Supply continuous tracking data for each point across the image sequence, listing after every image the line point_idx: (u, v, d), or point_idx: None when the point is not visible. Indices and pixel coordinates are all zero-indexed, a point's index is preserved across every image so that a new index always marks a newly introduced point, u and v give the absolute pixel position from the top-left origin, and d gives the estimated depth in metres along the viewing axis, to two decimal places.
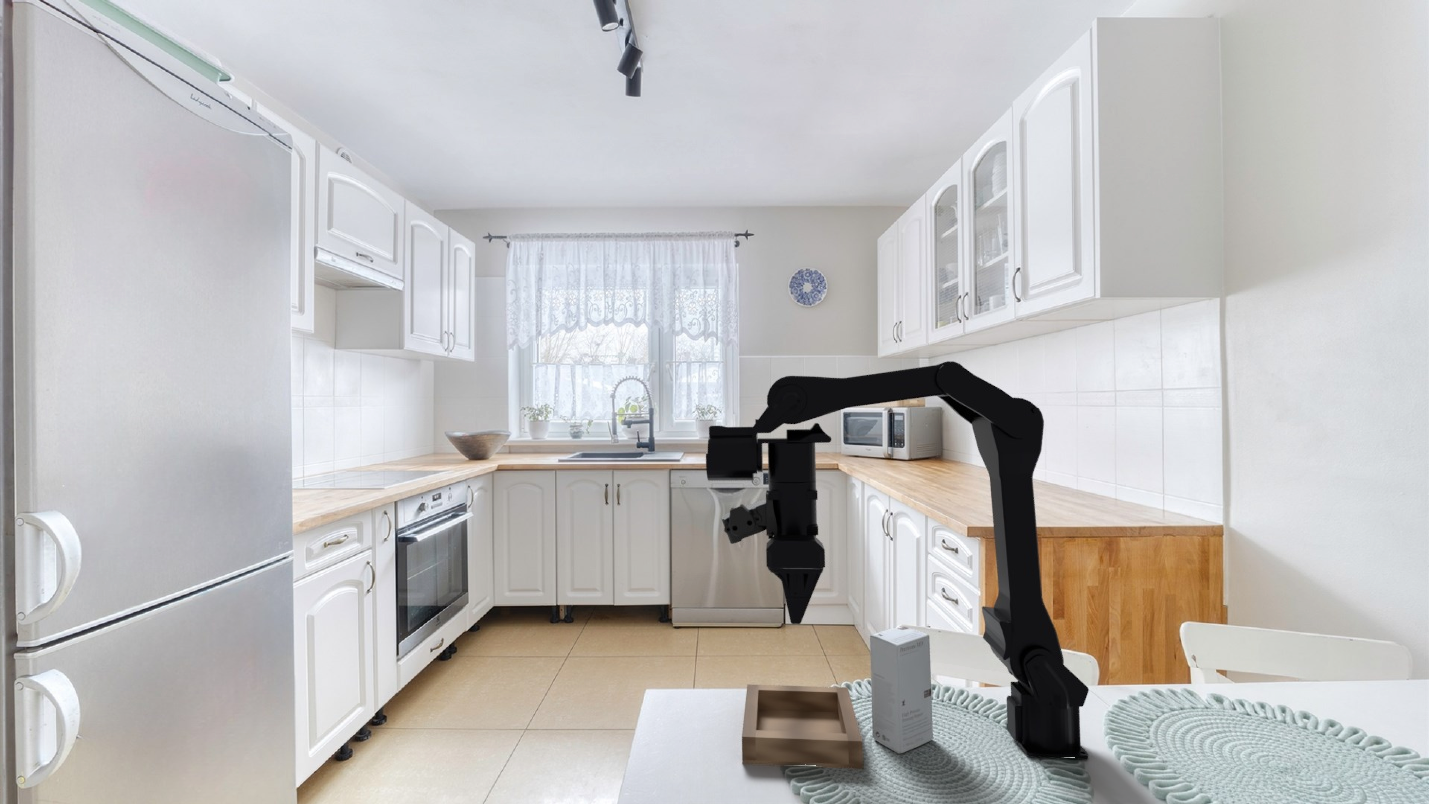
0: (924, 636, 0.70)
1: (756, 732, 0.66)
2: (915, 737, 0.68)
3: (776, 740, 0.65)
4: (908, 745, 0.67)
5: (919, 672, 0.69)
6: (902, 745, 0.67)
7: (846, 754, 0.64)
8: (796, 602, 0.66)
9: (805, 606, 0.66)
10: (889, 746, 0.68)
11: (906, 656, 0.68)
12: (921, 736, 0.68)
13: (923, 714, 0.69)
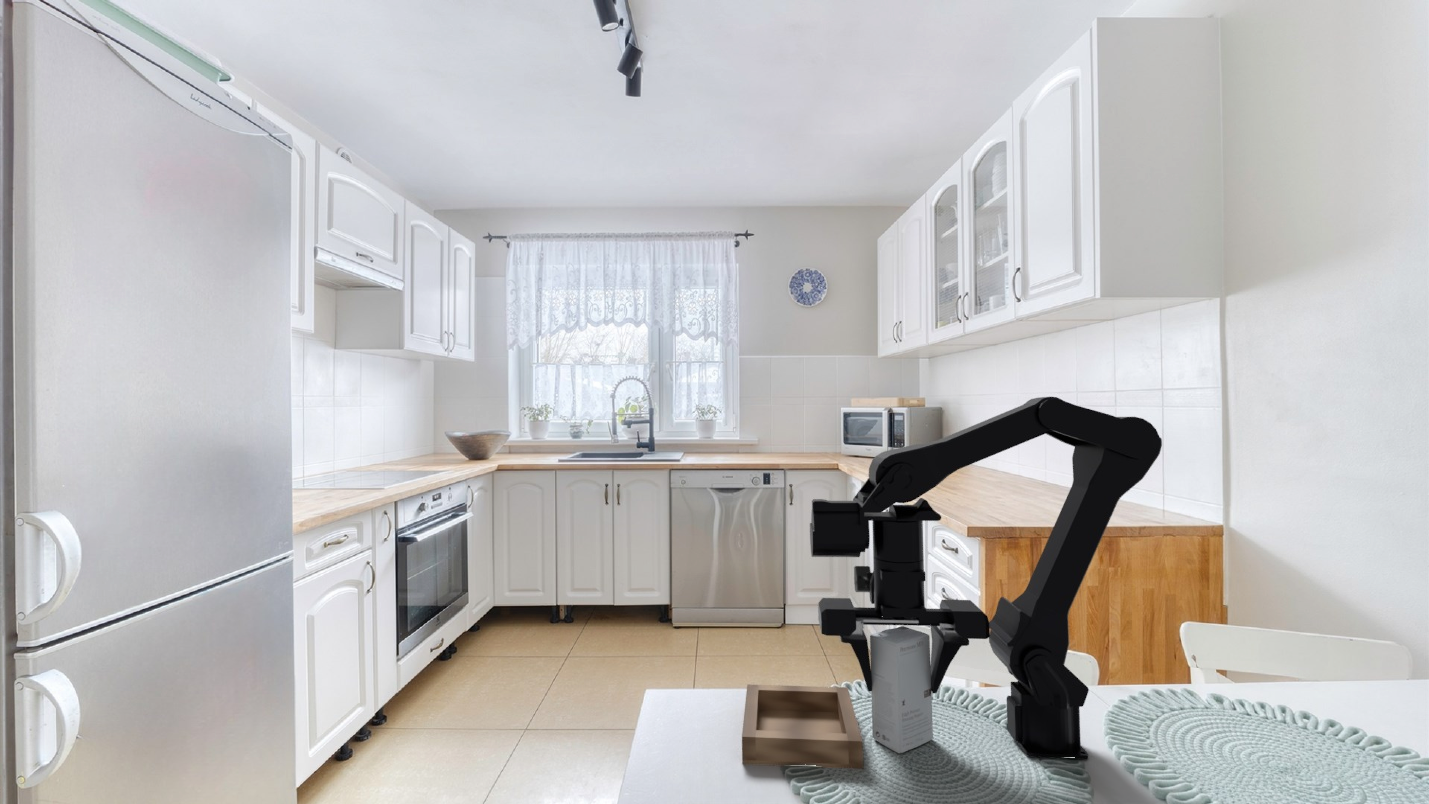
0: (924, 636, 0.70)
1: (756, 732, 0.66)
2: (915, 737, 0.68)
3: (776, 740, 0.65)
4: (908, 744, 0.67)
5: (919, 672, 0.69)
6: (902, 745, 0.67)
7: (846, 754, 0.64)
8: None
9: (863, 674, 0.70)
10: (889, 746, 0.68)
11: (906, 656, 0.68)
12: (921, 736, 0.68)
13: (923, 714, 0.69)
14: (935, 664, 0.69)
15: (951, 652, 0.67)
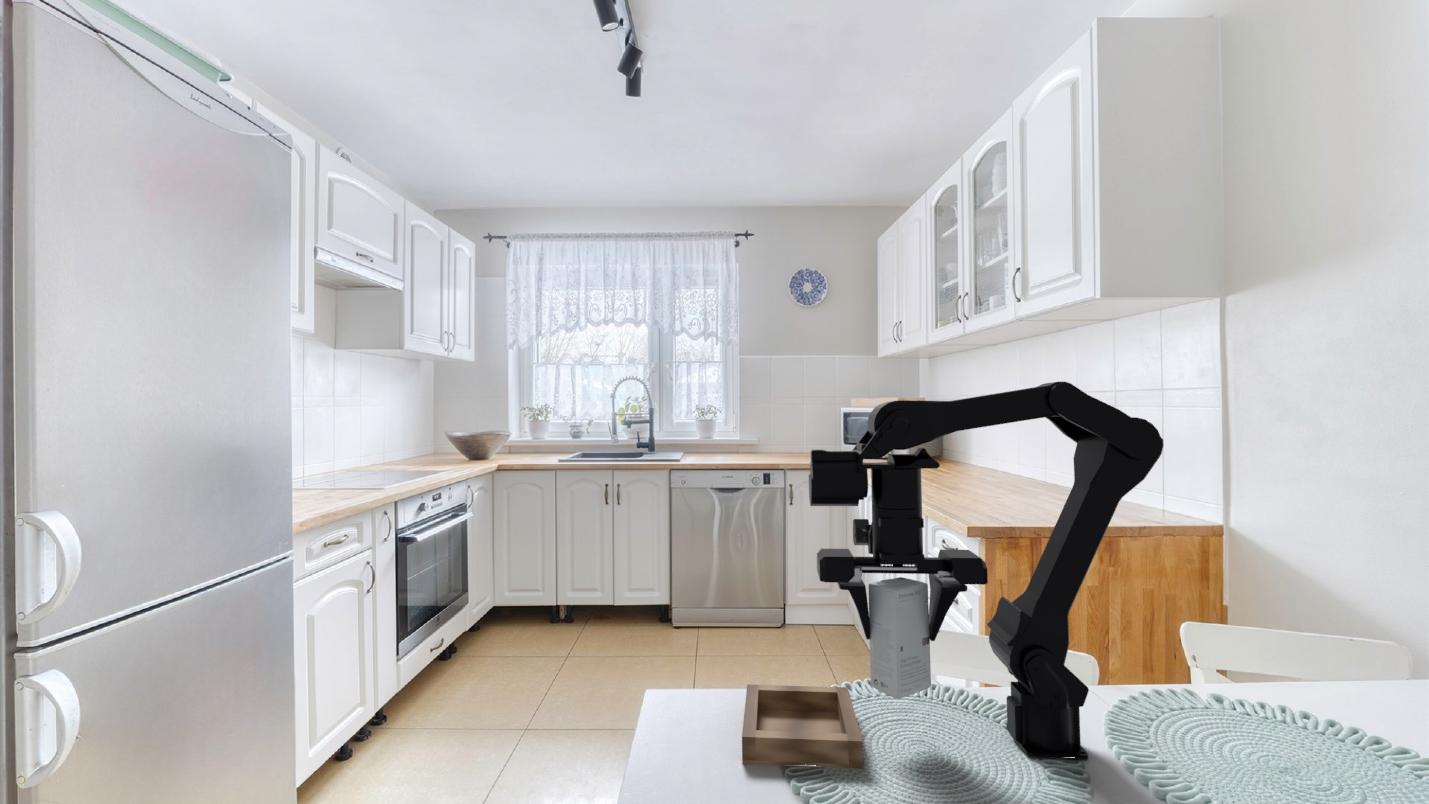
0: (922, 585, 0.70)
1: (756, 732, 0.66)
2: (913, 683, 0.68)
3: (776, 740, 0.65)
4: (906, 691, 0.67)
5: (918, 620, 0.69)
6: (901, 690, 0.67)
7: (846, 754, 0.64)
8: (859, 615, 0.71)
9: (861, 622, 0.70)
10: (887, 692, 0.68)
11: (904, 603, 0.68)
12: (919, 683, 0.69)
13: (921, 661, 0.69)
14: (933, 611, 0.69)
15: (949, 599, 0.67)
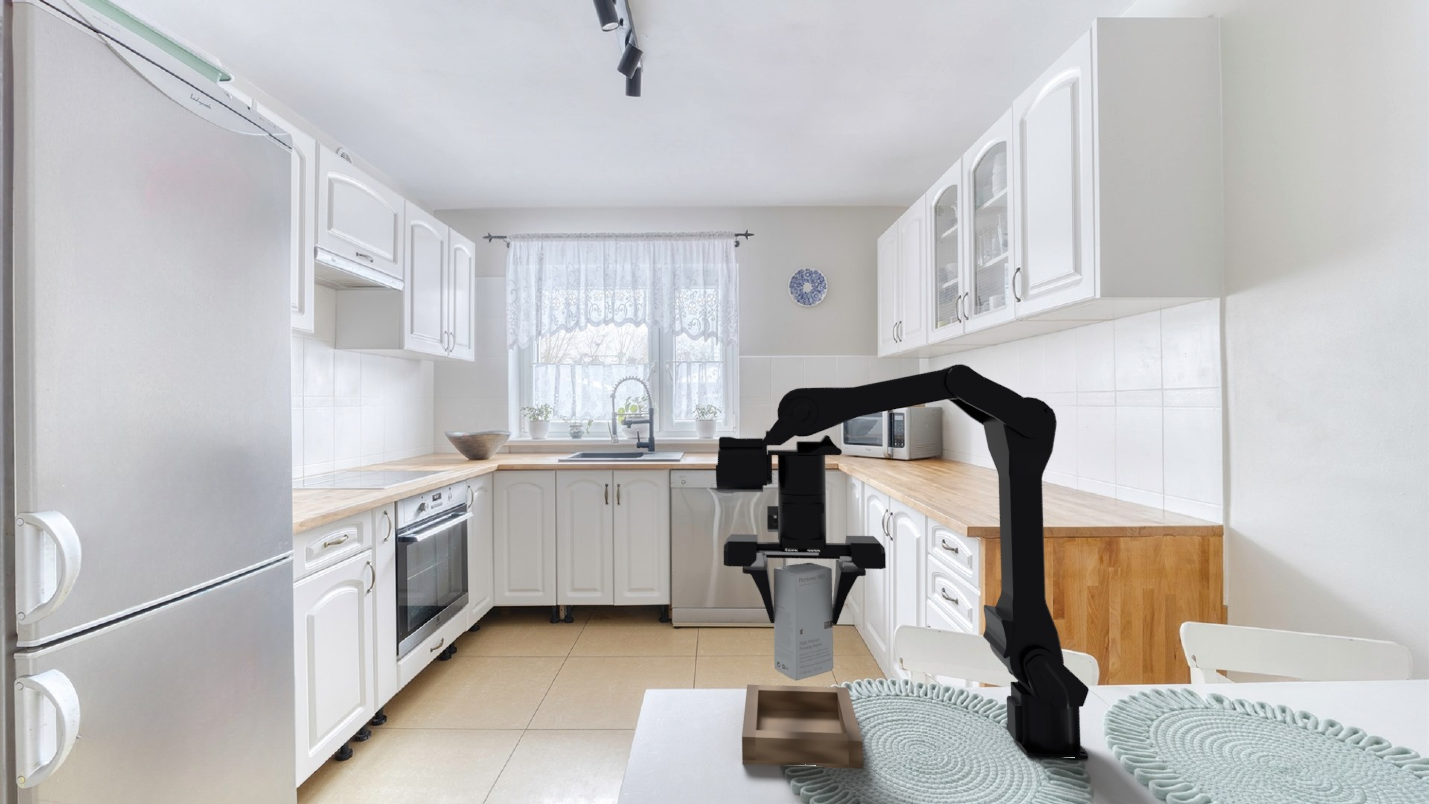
0: (826, 569, 0.71)
1: (756, 732, 0.66)
2: (814, 666, 0.69)
3: (776, 740, 0.65)
4: (806, 673, 0.69)
5: (820, 604, 0.70)
6: (799, 672, 0.68)
7: (846, 754, 0.64)
8: None
9: (765, 606, 0.71)
10: (787, 674, 0.69)
11: (805, 586, 0.69)
12: (820, 666, 0.70)
13: (823, 644, 0.70)
14: (835, 596, 0.70)
15: (848, 583, 0.69)
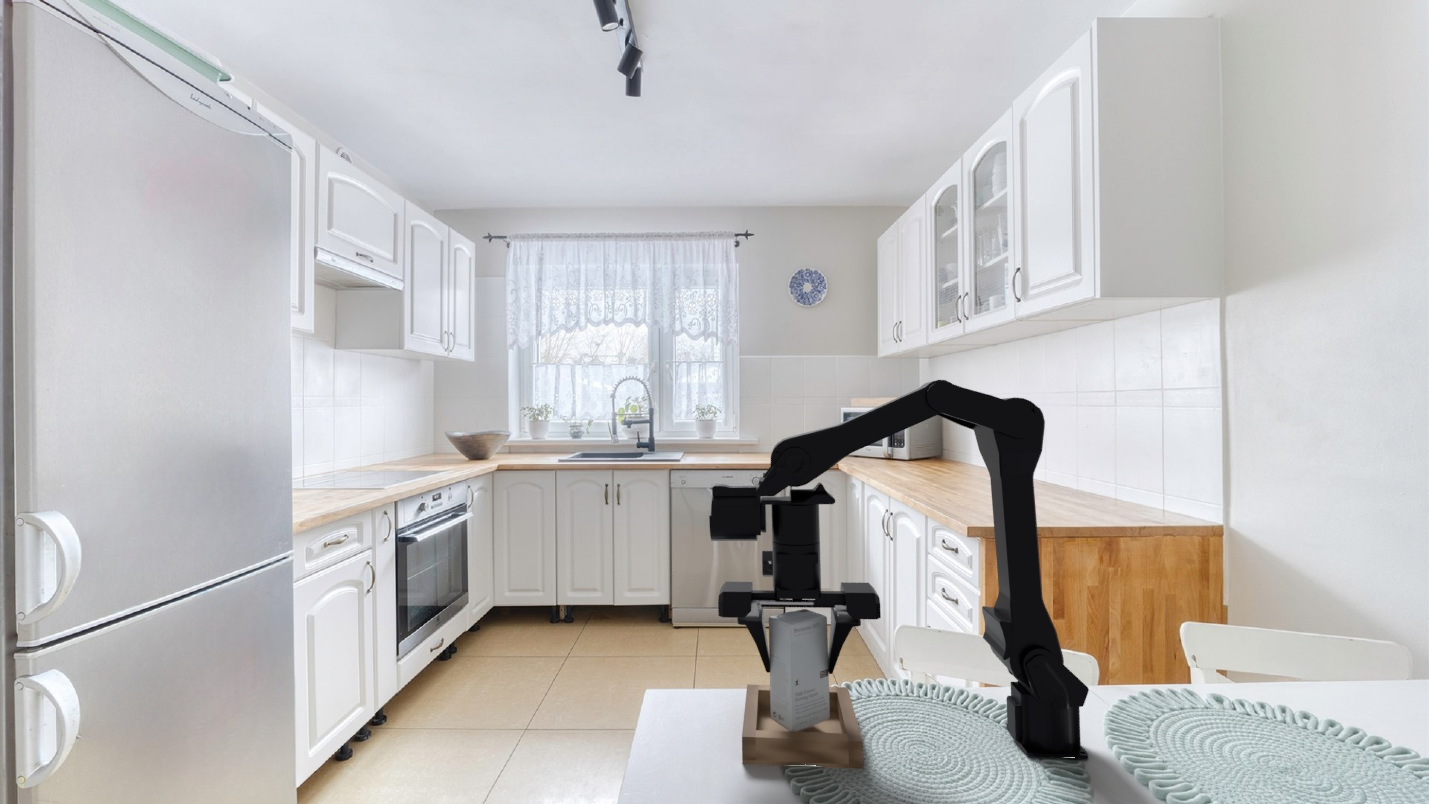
0: (821, 618, 0.71)
1: (756, 732, 0.66)
2: (810, 716, 0.69)
3: (776, 740, 0.65)
4: (802, 724, 0.68)
5: (815, 653, 0.70)
6: (795, 724, 0.68)
7: (846, 754, 0.64)
8: None
9: None
10: (784, 725, 0.69)
11: (801, 637, 0.69)
12: (816, 715, 0.70)
13: (819, 694, 0.70)
14: (830, 645, 0.70)
15: (844, 633, 0.69)
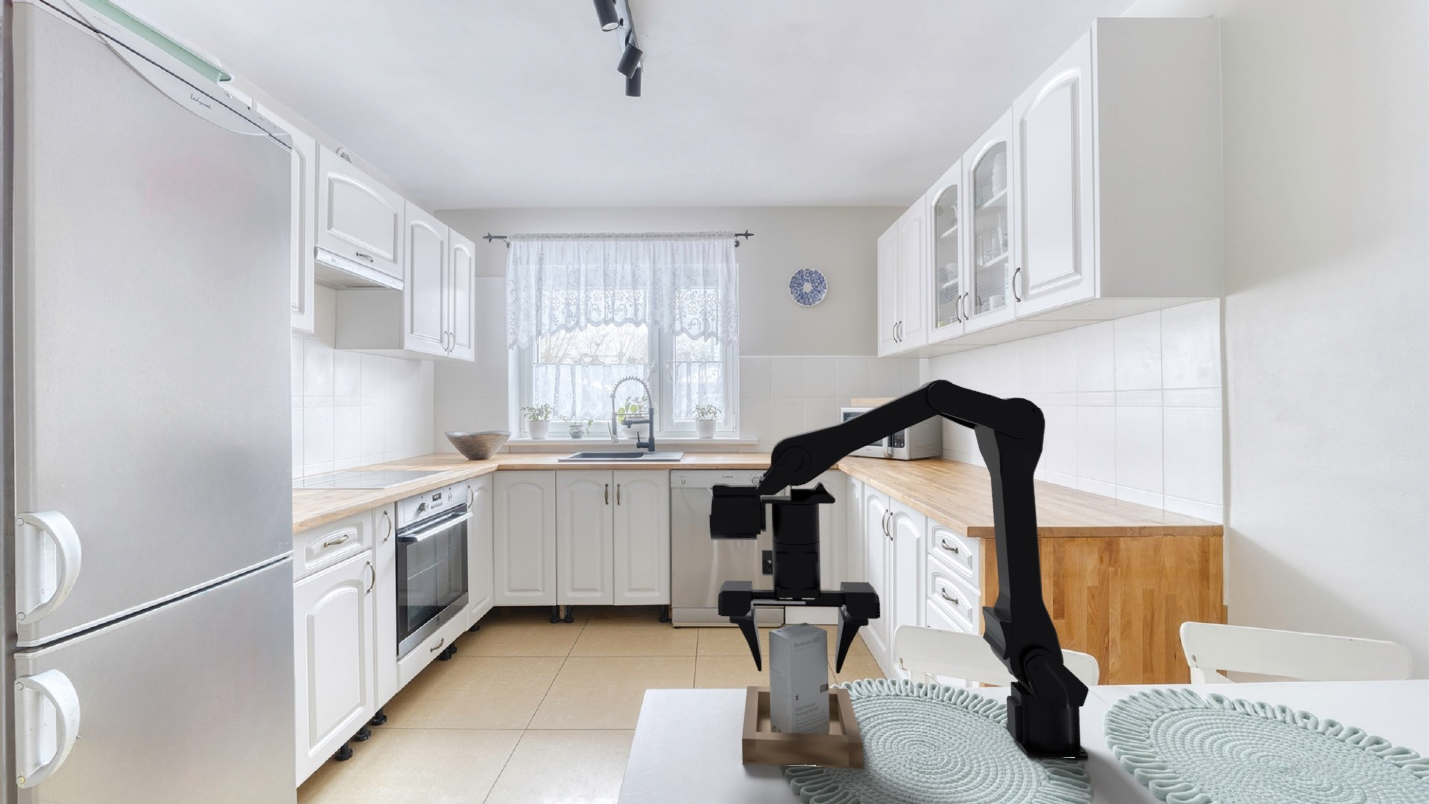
0: (821, 632, 0.71)
1: (756, 734, 0.66)
2: (810, 731, 0.69)
3: (776, 742, 0.65)
4: None
5: (815, 667, 0.70)
6: None
7: (846, 756, 0.64)
8: None
9: None
10: None
11: (801, 651, 0.69)
12: (816, 730, 0.70)
13: (819, 708, 0.70)
14: (838, 645, 0.70)
15: (851, 633, 0.68)
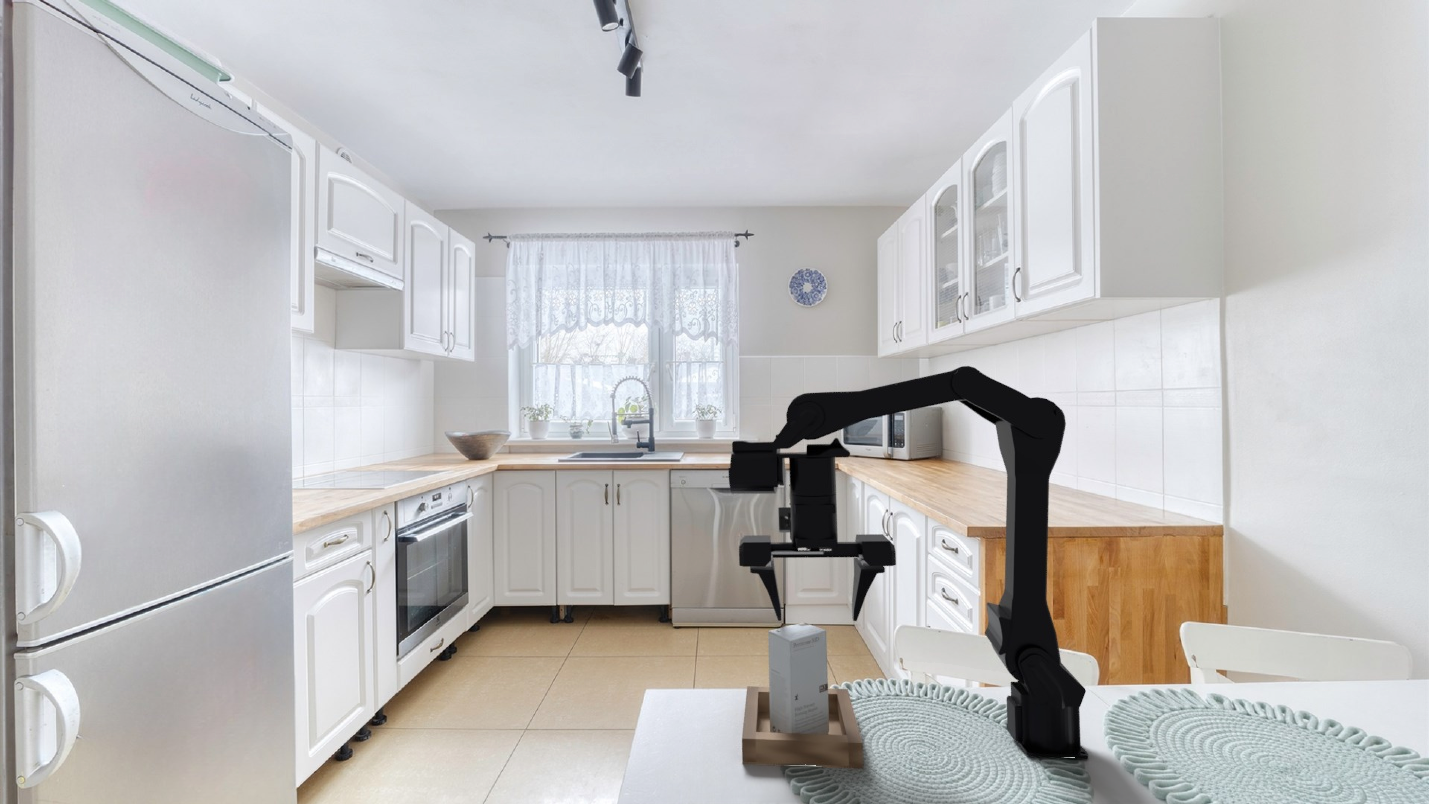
0: (820, 632, 0.71)
1: (756, 734, 0.66)
2: (809, 731, 0.69)
3: (776, 742, 0.65)
4: None
5: (815, 667, 0.70)
6: None
7: (846, 756, 0.64)
8: None
9: (772, 604, 0.73)
10: None
11: (800, 651, 0.69)
12: (816, 730, 0.70)
13: (818, 708, 0.70)
14: (855, 593, 0.73)
15: (868, 580, 0.71)
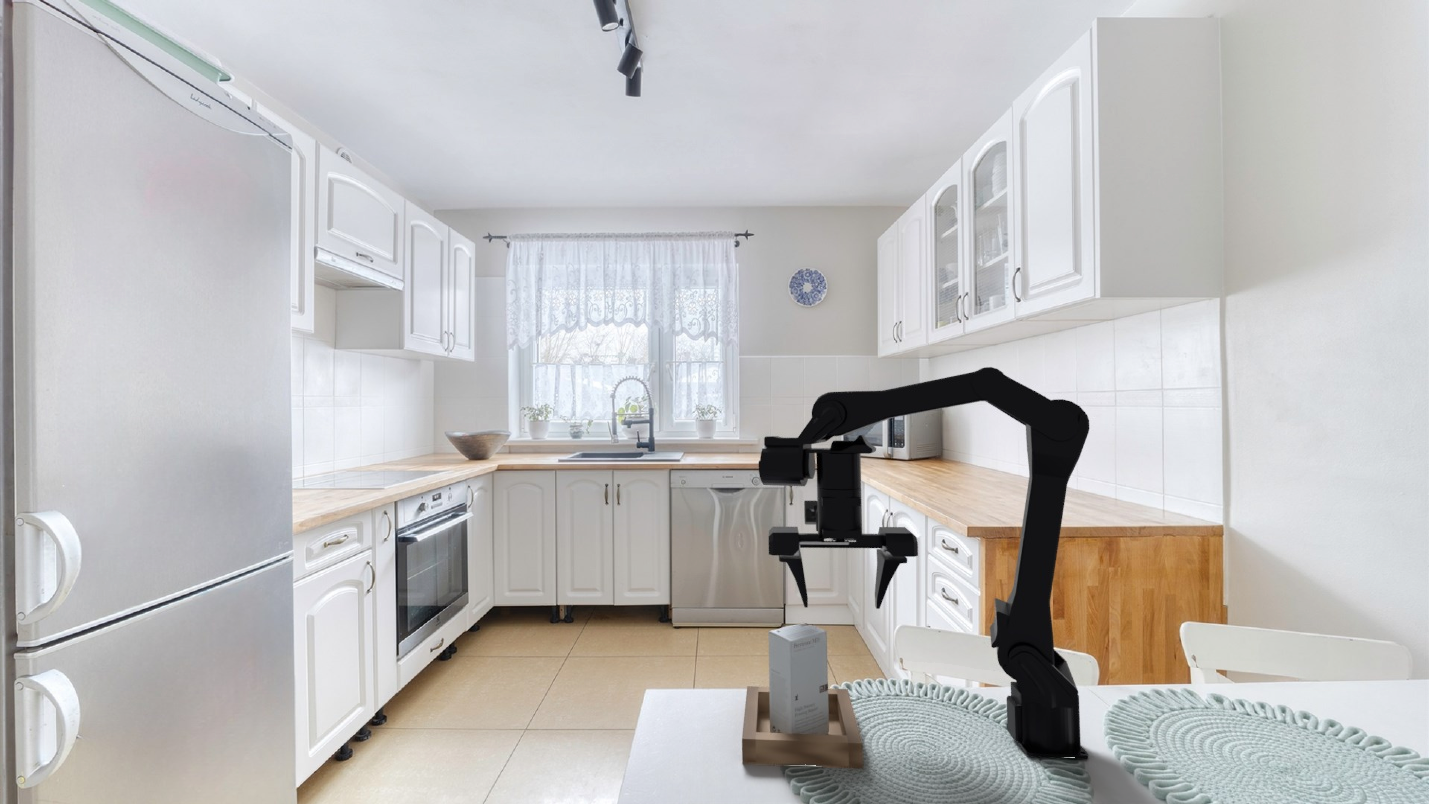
0: (820, 632, 0.71)
1: (756, 734, 0.66)
2: (809, 731, 0.69)
3: (776, 742, 0.65)
4: None
5: (815, 668, 0.70)
6: None
7: (846, 756, 0.64)
8: None
9: None
10: None
11: (800, 652, 0.69)
12: (816, 730, 0.70)
13: (818, 709, 0.70)
14: (878, 582, 0.77)
15: (891, 570, 0.75)
